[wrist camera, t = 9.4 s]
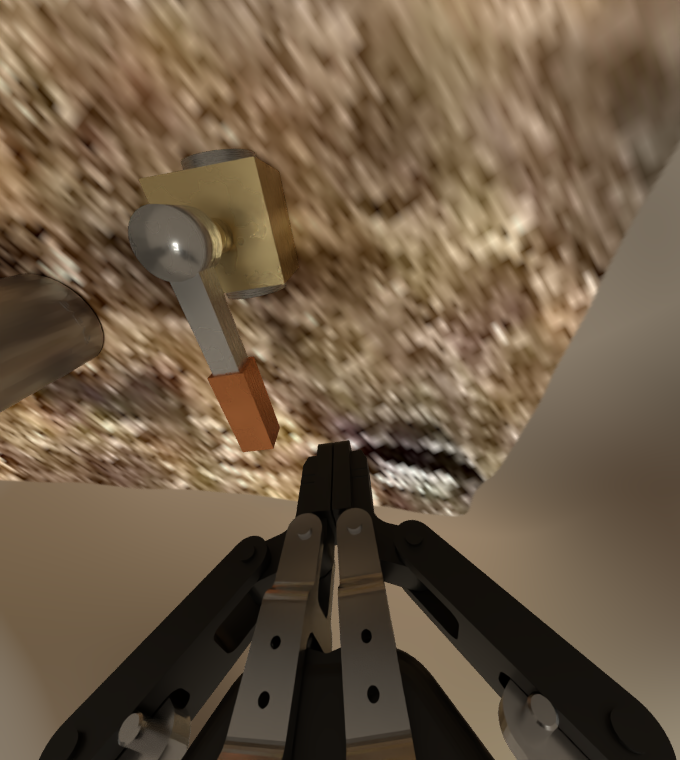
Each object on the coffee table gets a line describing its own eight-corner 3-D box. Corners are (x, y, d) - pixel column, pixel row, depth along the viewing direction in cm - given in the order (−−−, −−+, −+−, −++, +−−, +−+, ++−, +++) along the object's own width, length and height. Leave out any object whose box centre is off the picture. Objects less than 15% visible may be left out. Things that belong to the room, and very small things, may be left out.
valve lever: (148, 212, 14) (113, 212, 12) (207, 198, 14) (182, 196, 12) (246, 430, 22) (235, 454, 19) (286, 425, 21) (280, 449, 19)
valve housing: (228, 289, 26) (171, 327, 18) (188, 172, 22) (84, 146, 13) (301, 278, 26) (278, 312, 17) (275, 155, 21) (226, 116, 13)
